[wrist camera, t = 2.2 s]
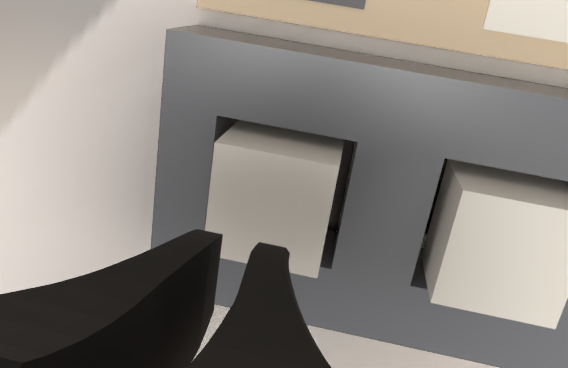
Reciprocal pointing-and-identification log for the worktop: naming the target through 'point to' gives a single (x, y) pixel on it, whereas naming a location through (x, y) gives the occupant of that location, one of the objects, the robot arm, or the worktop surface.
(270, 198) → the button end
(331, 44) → the worktop surface
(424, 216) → the button board
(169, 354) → the robot arm
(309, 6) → the pattern card
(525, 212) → the button middle
